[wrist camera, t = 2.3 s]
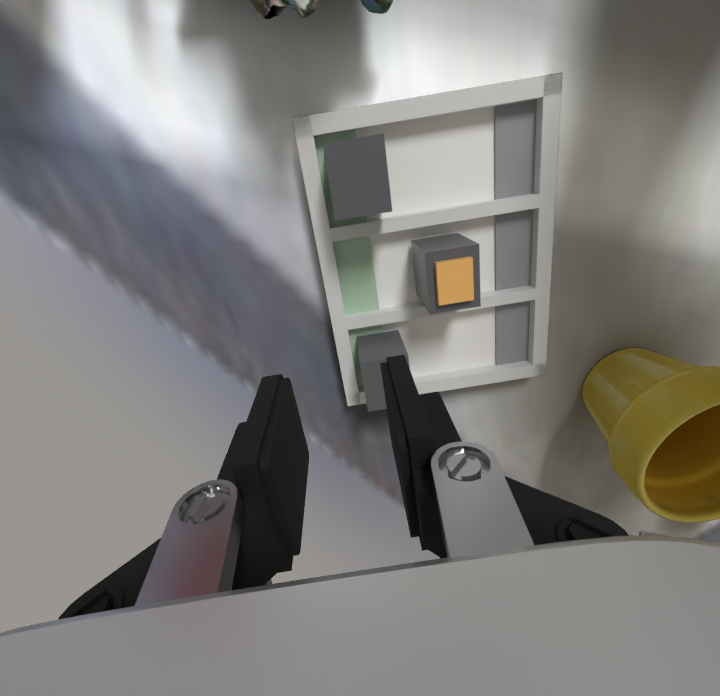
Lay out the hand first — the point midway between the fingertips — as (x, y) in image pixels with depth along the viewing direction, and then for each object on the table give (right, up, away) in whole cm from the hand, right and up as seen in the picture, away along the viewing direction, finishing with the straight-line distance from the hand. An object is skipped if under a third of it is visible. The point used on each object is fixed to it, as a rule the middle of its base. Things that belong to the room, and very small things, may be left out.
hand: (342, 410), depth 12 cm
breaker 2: (+2, +1, +17) cm, 17 cm away
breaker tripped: (+6, +7, +14) cm, 17 cm away
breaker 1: (0, +12, +12) cm, 17 cm away
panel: (+5, +8, +16) cm, 18 cm away
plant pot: (+22, -1, +21) cm, 31 cm away
